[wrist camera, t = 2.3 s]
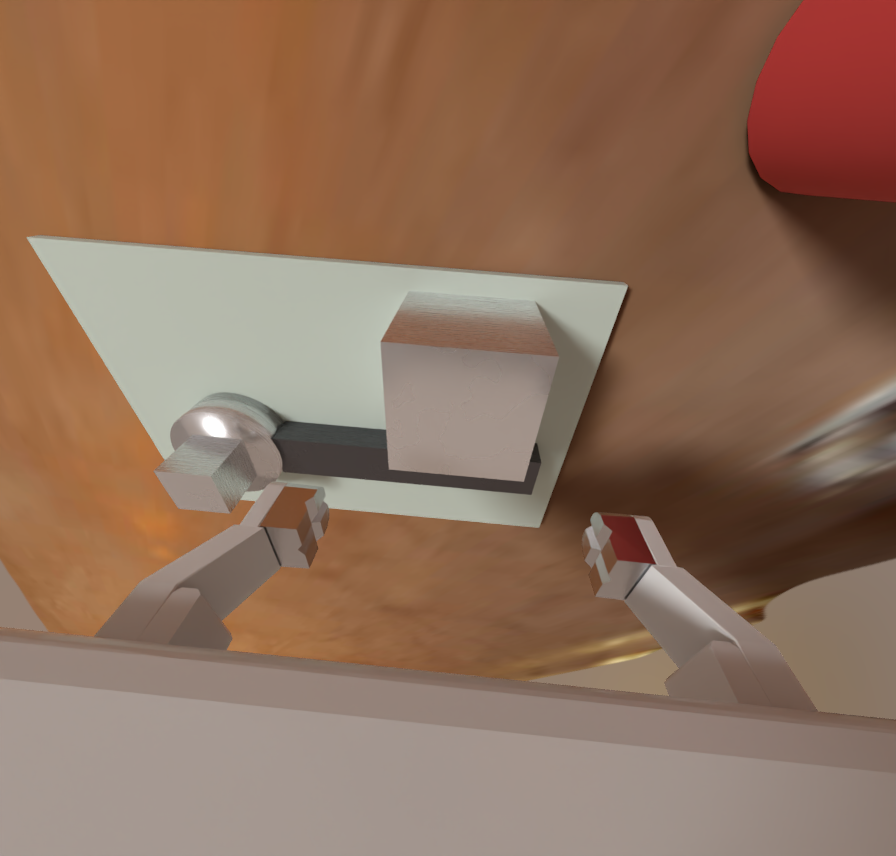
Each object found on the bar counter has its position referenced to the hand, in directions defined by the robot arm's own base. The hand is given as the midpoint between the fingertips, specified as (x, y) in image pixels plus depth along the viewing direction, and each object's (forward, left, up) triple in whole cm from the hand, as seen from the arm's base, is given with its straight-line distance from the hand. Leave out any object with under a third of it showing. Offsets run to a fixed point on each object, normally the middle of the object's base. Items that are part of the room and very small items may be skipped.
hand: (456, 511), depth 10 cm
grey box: (-1, 0, -10) cm, 10 cm away
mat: (+4, -7, -11) cm, 13 cm away
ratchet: (+6, -6, -10) cm, 13 cm away
